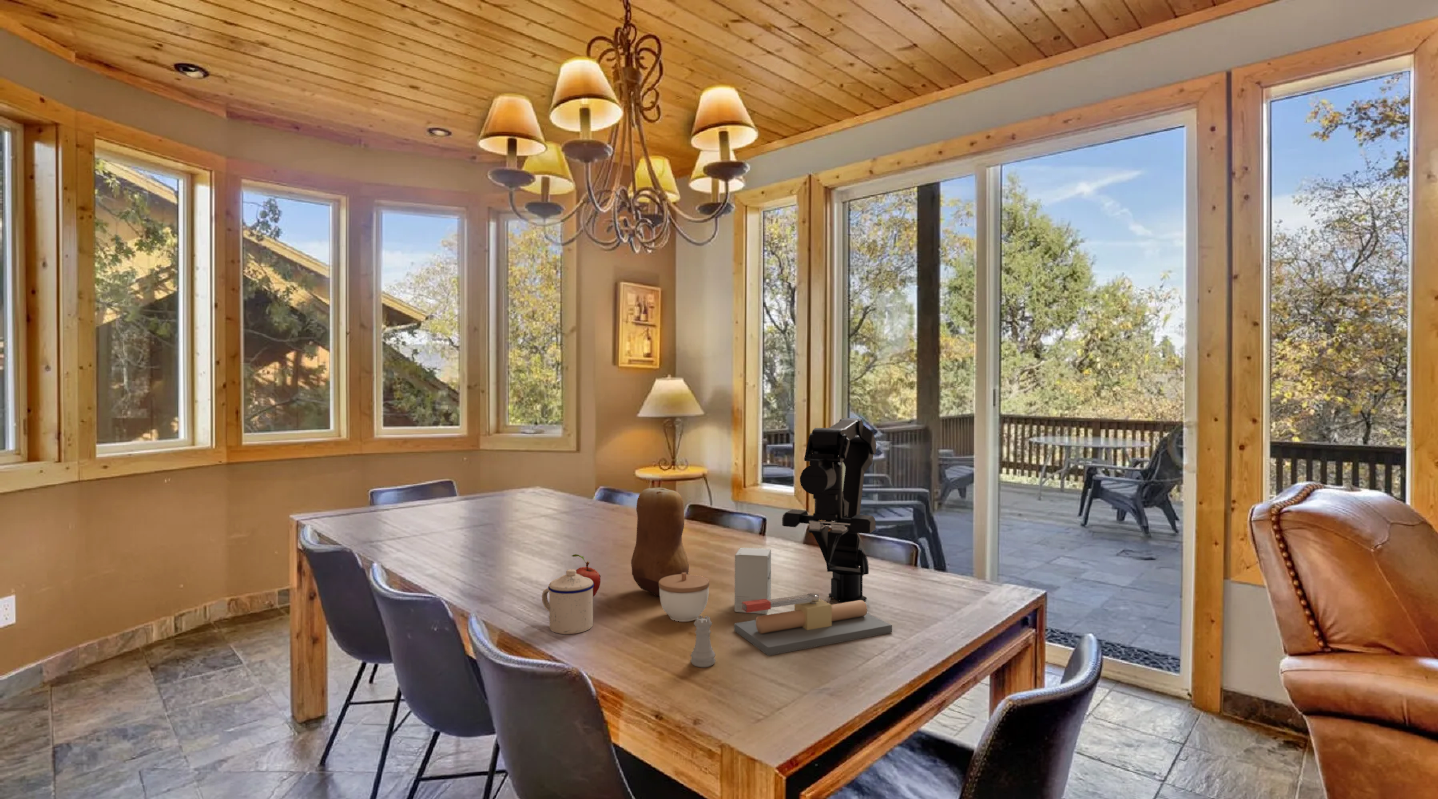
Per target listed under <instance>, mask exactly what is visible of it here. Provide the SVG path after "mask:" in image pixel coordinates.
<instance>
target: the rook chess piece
mask: <svg viewBox="0 0 1438 799" xmlns="http://www.w3.org/2000/svg"><path fill="white" fill-rule="evenodd" d="M693 625H694V627H695V628H696V629H695V631H694V633H695V644H694V647H693V649H692V652H691V653H690V657H691V659H690V663H691V664H692V666H694V667H696V668H710V667H712V666H713V665H714V664H715V663H716V658H715V657H716V653H715V651H714V650H713V647H712V643H711V633H712V631H711V630H710V629H711V626H712V625H713V622H712V621H711V617H710V616H708V615H705V616H704V618H703V615H699V617H696V620H694V622H693Z"/></svg>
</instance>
